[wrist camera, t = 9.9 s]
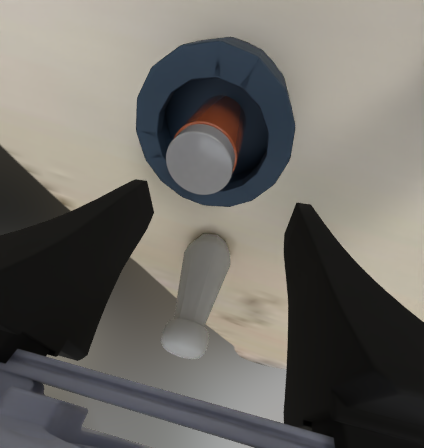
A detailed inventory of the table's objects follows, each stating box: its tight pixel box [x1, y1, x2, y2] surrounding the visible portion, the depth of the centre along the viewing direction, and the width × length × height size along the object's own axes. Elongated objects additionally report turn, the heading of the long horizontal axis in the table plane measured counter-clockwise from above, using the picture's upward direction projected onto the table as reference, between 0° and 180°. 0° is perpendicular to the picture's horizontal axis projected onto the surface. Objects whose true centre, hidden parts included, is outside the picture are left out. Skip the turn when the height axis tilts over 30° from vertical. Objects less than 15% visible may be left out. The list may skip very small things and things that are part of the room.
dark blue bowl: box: [136, 37, 295, 207], centre depth 15 cm, size 10×10×5 cm
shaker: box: [166, 95, 246, 195], centre depth 14 cm, size 4×4×7 cm
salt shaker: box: [161, 233, 230, 359], centre depth 23 cm, size 6×6×13 cm
